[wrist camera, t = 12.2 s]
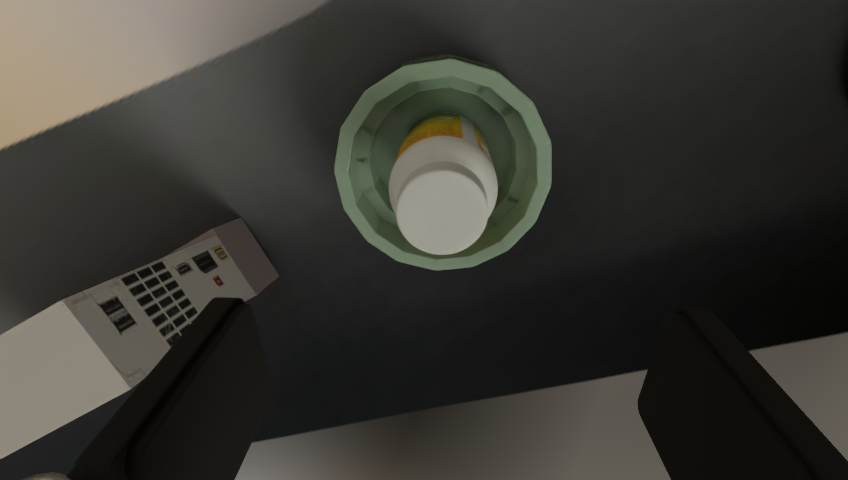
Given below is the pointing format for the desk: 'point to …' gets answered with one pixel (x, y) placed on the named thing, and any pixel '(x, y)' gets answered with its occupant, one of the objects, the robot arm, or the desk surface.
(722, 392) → the robot arm
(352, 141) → the green bowl
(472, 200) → the supplement bottle
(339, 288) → the desk surface
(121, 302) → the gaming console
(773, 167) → the desk surface
